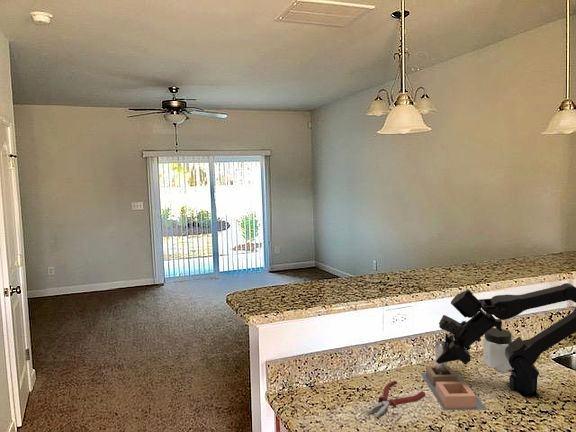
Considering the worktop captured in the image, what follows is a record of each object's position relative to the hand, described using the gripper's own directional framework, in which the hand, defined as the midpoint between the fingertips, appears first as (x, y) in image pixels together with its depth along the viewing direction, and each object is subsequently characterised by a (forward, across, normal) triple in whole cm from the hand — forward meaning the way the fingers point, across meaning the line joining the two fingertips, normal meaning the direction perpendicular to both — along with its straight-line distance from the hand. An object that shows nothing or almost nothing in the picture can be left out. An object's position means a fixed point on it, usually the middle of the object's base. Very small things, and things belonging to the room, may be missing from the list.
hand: (436, 359), depth 137 cm
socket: (+2, +12, +8) cm, 14 cm away
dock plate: (+3, +6, +8) cm, 10 cm away
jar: (-9, -16, +20) cm, 27 cm away
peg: (+3, 0, +5) cm, 6 cm away
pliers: (+16, +14, -4) cm, 21 cm away
